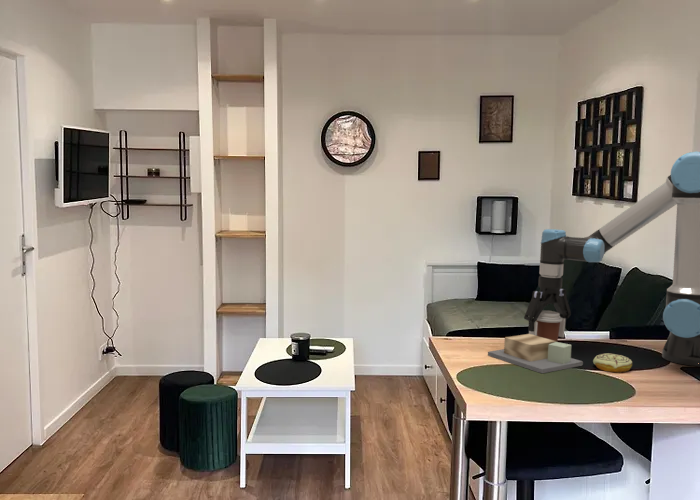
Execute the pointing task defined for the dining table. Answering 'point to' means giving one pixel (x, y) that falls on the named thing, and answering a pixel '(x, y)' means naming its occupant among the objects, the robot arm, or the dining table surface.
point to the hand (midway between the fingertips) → (546, 338)
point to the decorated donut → (612, 362)
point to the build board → (534, 362)
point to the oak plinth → (527, 347)
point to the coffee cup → (549, 325)
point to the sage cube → (559, 352)
